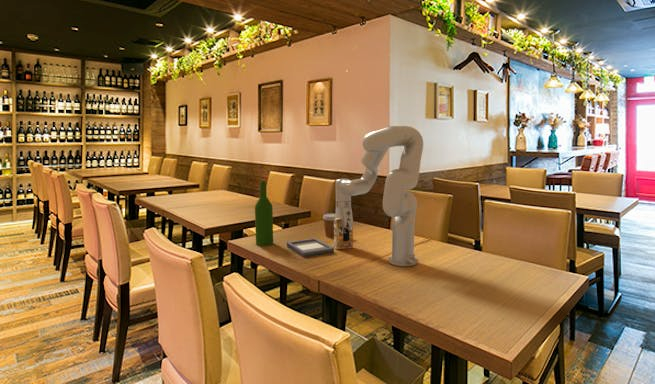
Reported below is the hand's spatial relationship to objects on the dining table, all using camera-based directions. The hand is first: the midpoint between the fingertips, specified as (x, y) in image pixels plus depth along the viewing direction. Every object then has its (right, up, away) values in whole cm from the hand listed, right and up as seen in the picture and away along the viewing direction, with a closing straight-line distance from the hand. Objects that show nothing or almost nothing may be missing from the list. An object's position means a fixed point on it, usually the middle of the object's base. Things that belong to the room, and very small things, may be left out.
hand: (343, 239), depth 201 cm
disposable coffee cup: (-6, -1, +24) cm, 24 cm away
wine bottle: (-41, -4, +9) cm, 42 cm away
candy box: (0, -5, +1) cm, 5 cm away
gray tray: (-17, -5, -2) cm, 18 cm away
